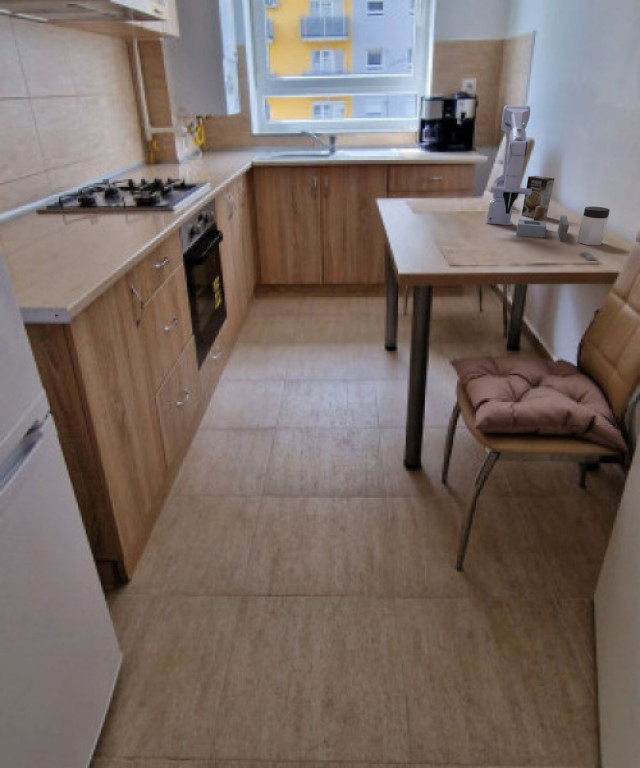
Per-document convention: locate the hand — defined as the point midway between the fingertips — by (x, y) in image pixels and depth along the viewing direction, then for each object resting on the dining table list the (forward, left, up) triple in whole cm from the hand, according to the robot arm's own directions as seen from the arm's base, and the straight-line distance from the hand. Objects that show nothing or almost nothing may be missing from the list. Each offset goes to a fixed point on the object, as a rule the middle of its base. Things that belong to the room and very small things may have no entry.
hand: (507, 213), depth 219 cm
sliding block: (+9, 0, -7) cm, 12 cm away
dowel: (+12, +12, -7) cm, 18 cm away
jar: (+30, -7, -7) cm, 32 cm away
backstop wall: (+21, 0, -7) cm, 22 cm away
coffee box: (+11, +36, -7) cm, 38 cm away
